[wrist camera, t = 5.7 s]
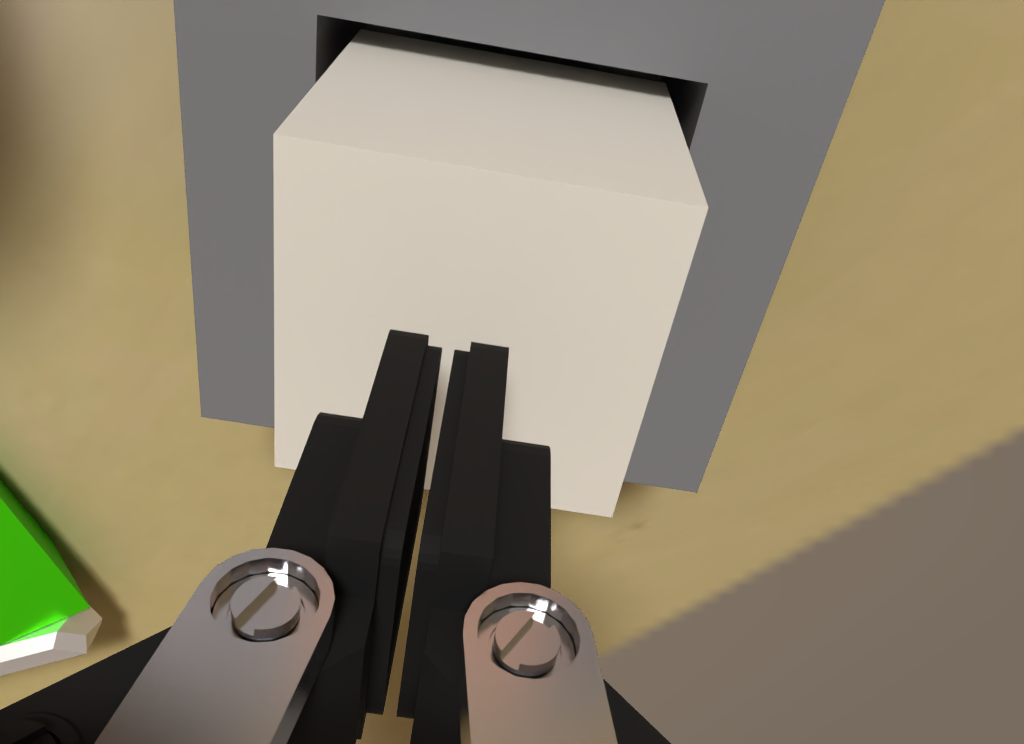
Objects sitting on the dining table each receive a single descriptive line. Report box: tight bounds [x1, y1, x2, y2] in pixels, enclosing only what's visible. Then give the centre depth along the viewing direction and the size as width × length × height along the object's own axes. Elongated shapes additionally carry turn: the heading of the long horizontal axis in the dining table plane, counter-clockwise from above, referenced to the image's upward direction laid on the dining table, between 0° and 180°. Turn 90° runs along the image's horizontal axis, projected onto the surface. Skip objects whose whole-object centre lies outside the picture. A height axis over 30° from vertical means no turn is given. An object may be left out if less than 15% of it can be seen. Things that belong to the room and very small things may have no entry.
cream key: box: [273, 29, 709, 517], centre depth 16 cm, size 6×6×6 cm
